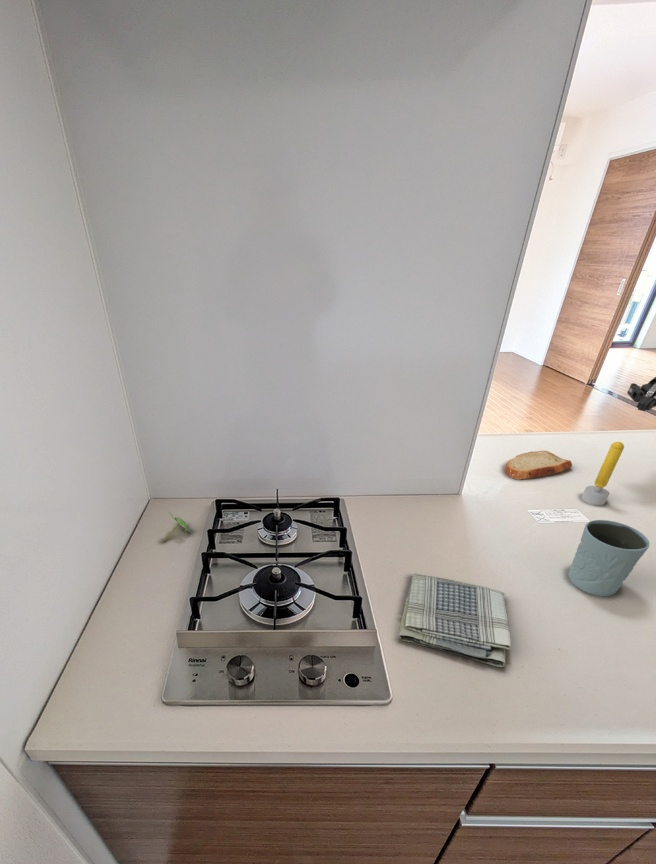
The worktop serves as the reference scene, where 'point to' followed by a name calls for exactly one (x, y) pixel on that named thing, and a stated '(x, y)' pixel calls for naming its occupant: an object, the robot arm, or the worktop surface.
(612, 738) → the worktop surface
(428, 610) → the dish towel
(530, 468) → the bread slice
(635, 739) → the worktop surface
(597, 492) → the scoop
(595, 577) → the blue-green plant pot
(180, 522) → the green hummingbird figurine
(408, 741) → the worktop surface
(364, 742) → the worktop surface
